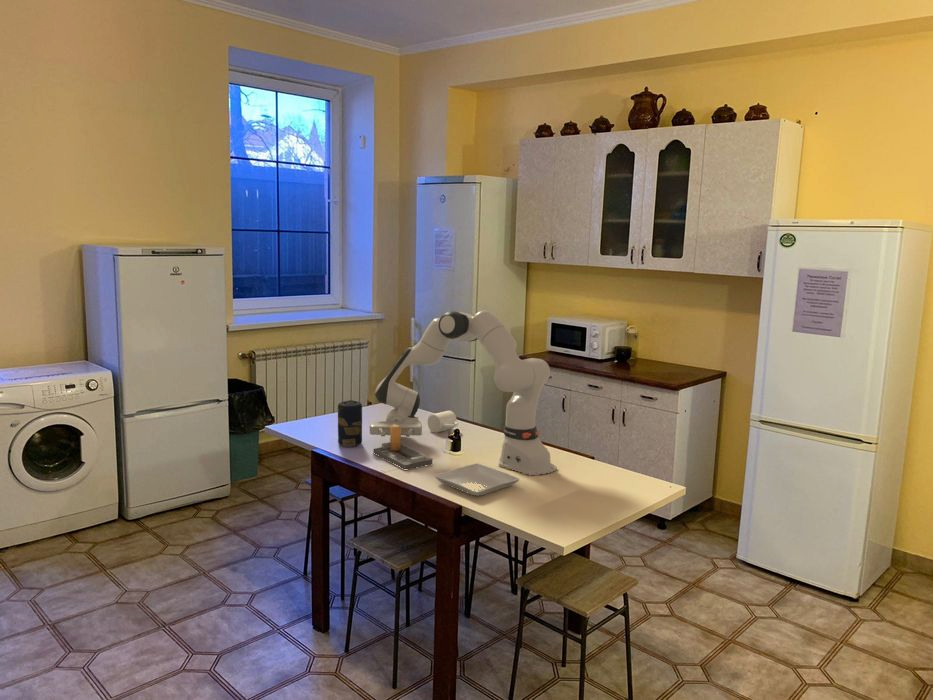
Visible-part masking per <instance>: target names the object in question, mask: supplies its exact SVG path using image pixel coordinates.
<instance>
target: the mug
mask: <svg viewBox="0 0 933 700" xmlns="http://www.w3.org/2000/svg"><path fill="white" fill-rule="evenodd" d="M458 425H459V423H458V419H457V415H456V414H455V412H453V411H452V410H445V411H441V412H437V413H432V414H430V415H429V416H428V418H427V426H428V427H427V428H428V429H429V431H431V432H432V433H433V432H435V433H434V434H437V433H442V432H445V431H449V429H450V430H452V429H454V428H456V427H458Z"/></svg>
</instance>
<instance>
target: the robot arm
mask: <svg viewBox="0 0 933 700" xmlns="http://www.w3.org/2000/svg"><path fill="white" fill-rule="evenodd" d="M453 340H455V341H459V342H475V341H479V343H480V345H482V346H483V349H484V350H485V351H486V352H487V354H488V355H489V357H490V359H491V360H492V362H493V365H494V369H495V372H494V374H493V381H494V383H495V386H496V387H497V388H498V389H499V391H501V392H507V393H512V395H511V398H510V399H509V400H508V401H507V403H506V407H505V424H504V427H503V435H504V438H503V443H502V446H501V448H502V449H501V454H500V458H499V462H498V467H500V466H502V467H501V468H504V467H505V468H504V469H507V468H508V469H507V470H510V469H512V470H511V471H513V470H515V471H514V472H516V471H518V472H517V473H520V472H522V473H521V474H523V473H525V474H524V475H526V474H529V475H528V476H530V475H535V476H541V475H540V474H543V475H546V473H548V474H550V472H551V473H554V472H556V471H557V469H558V467H557V466H556V465H555V464H554V463H552V461H551V454H550V453H551V452H550V451H549V450H548V448H546V446H545V445H544V443H543V442H542V441H541V440H540V438H539V435H541V430H538V429H537V426H536V417H537V408H538V407H537V406H538V403H539V402H538V401H539V398H540V396H541V393H542V390H543V388H544V386H545V384H546V383H547V382H548V380H549V379H550V376H551V368H550V366H549V363H548V362H546V361H545V360H544V359H542V358H537V357H536V358H534V357H530V358H525V359H521V358H520V357H519V356H518V354H517V352H516V350H517V346H518V345H517V341H516V339H515V338H514V337H513V335H512V334H511V332H510V331H509V330H508V329H507V328H506V326H505V325H504V324H503V322H502V321H501V319H499V318H498V317H497V316H496V315H494V313H492V312H491V311H489V310H485V309H483V310H480V311H478V312H476V313H475V314H471V313H467V312H463V311H455V310H454V311H453V310H452V311H447V312H444V313H443V314H442V315H441V316H440V317H436V318H434V319H433V320H431V322H430V323H429V324H428V325H427V327H426V329H425V331H424V332H423V334H422V337H421V338H420V340H419V341H418V342H417V344H415V345H414V346H409V347H407V348H406V349H405V350H404V351H403V353H402V354H401V355H400V356H399V357H398V359H397V360H396V362H395V363H394V364H393V366H392V367H391V369H390V370H389V371H388V373H387V374H386V375H385V377H384V378H383V379H382V380H381V381H380V382H379V383H378V385H377V386H376V388H375V392H374V396H375V399H376V400H377V402H379V403H382V404H384V405H388V406H390V407H391V408H390V409H389V410H388V412H387V414H386V420H385V421H384V420H383V421H382V420H380V421H378V420H377V421H372V422H371V423H370V425H369V434H370V435H373V436H374V435H375V436H380V437H385V436H390V426H391V425H393V424H395V425H400V426H401V436H405V437H407V438H408V437H409V438H410V437H411V436H417V437H418V436H422V435H423V425H422V422H421V421H420V420H419V417H418V416H416V414H417V412H418V410H419V407H420V404H421V396H420V394H419V392H418V391H416V390H414V389H411V388H410V387H407V386H404V385H402V384H401V383H397V382H396V380H398V379H397V378H398V377H399V376H400V375H401V373H402V372H403V370H404V369H405V368H407V367H409V366H413V365H415V366H416V365H419V366H431V365H432V366H433V365H435V364H437V363H439V362H440V361H441V360H442V359H443V358H444V357H443V356H444V355H445V353H446V351H447V349H448V347H449V345H450V344H451V342H452V341H453ZM553 471H554V472H553Z"/></svg>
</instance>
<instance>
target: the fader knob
mask: <svg viewBox="0 0 933 700" xmlns="http://www.w3.org/2000/svg"><path fill="white" fill-rule="evenodd" d="M389 438H390V439H389V442H390V450H392V451H399V450H401V444H402V435H401V426H400V425H395V424H393V425H391V426H390V435H389Z"/></svg>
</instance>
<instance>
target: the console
mask: <svg viewBox="0 0 933 700" xmlns="http://www.w3.org/2000/svg"><path fill="white" fill-rule="evenodd" d="M374 453H375V454H377V455H379V456H380V457H382V458H384V459H386V460H388V461H390V462H392V463H394V464H396V465H398V466H400V467H401V468H403V469H409V470H411V469H410V468H414V469H417V468H416V467H419V468H422V467H421V466H423V467H426V466H425V465H428V466H432V465H433V458H431V457H428V456H427V455H424V454H422V453H421V452H418V451H416V450H414V449H412V448H410V447H408V446H405V445H403V444H402V443H401V450H399V451H392V450H390V441H389V442H385V443H381V446H380V447H377V448H373V454H374ZM375 454H374V455H375ZM377 455H376V456H377ZM380 457H379V458H380ZM382 458H381V459H382ZM384 459H383V460H384ZM386 460H385V461H386ZM388 461H387V462H388ZM390 462H389V463H390ZM392 463H391V464H392ZM431 464H432V465H431ZM401 468H400V469H401ZM403 469H402V470H403Z"/></svg>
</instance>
